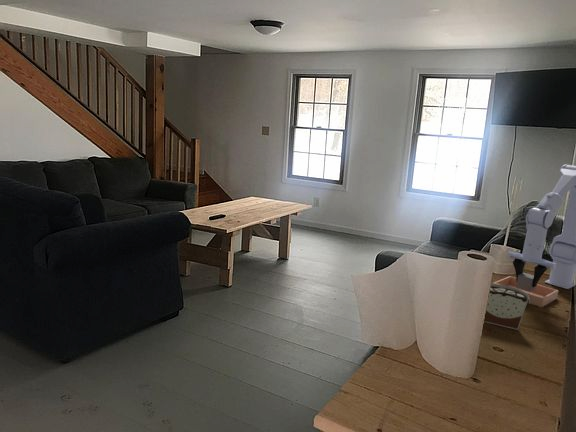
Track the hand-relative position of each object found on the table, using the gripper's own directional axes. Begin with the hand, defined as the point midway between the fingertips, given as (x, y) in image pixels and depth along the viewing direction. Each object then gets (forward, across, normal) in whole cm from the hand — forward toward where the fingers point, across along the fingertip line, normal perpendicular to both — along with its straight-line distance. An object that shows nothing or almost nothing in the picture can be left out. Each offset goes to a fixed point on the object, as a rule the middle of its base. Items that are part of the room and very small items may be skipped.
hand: (526, 284), depth 157 cm
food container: (+4, +5, -31) cm, 32 cm away
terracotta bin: (+4, 0, 0) cm, 4 cm away
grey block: (+2, 0, 0) cm, 2 cm away
